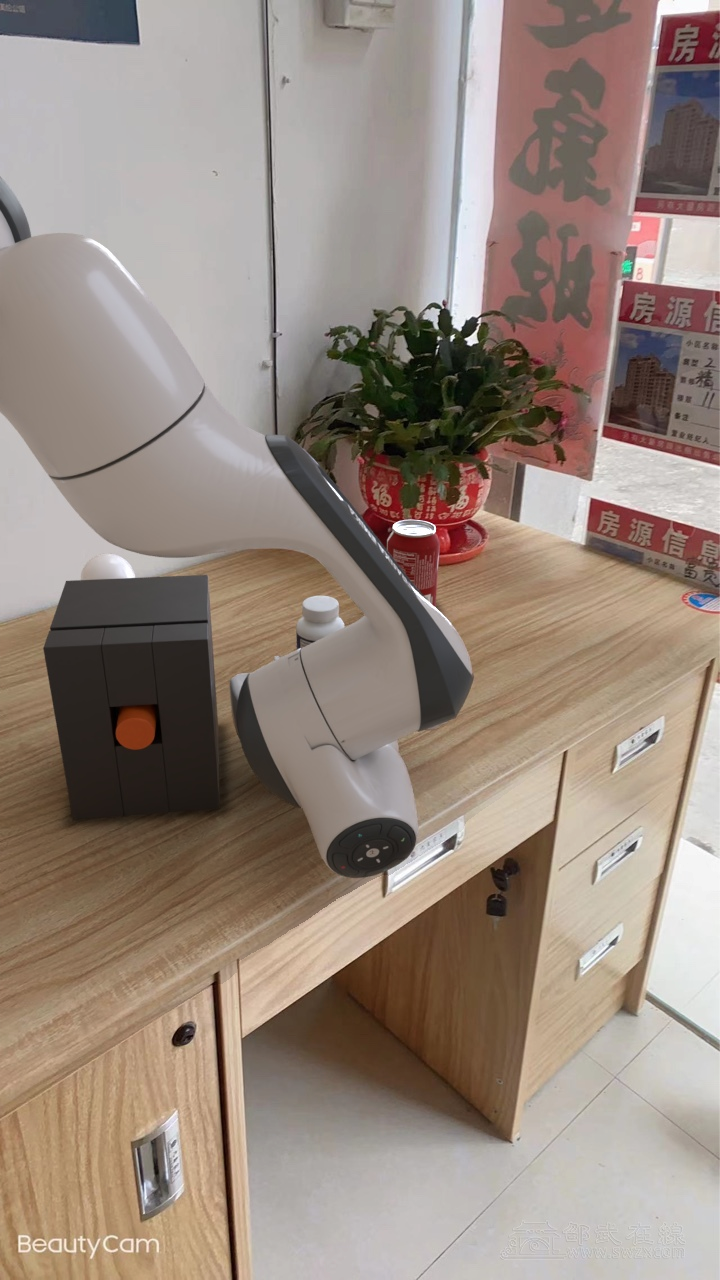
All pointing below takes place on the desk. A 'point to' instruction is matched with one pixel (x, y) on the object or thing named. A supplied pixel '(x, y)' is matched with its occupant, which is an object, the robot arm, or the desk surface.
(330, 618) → the pill bottle
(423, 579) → the soda can
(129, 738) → the button
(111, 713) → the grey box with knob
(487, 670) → the desk surface
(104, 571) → the lightbulb
